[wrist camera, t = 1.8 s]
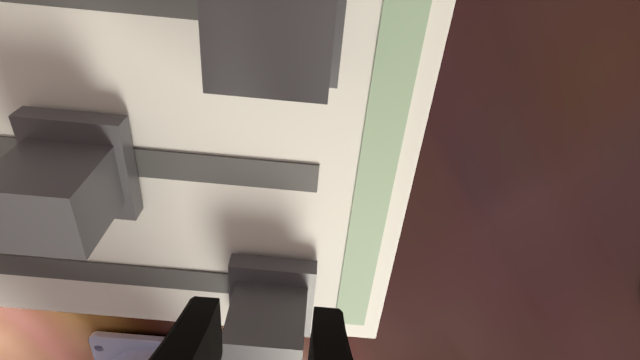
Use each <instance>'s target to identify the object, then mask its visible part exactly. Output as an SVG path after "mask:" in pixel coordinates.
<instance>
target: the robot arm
mask: <svg viewBox="0 0 640 360" xmlns="http://www.w3.org/2000/svg"><path fill="white" fill-rule="evenodd" d="M88 342H89V345H90V348H91V351H92V354H93V357H94V360H221V358H222V353H223V345H222V329H221V312H220V298H211V297H199V296H194V297H192V298H191V299H190V300H189V302H188V303H187V305H186V306H185V308H184V310H183V311H182V313H181V314H180V316H179V317H178V319H177V320H176V322H175V323H174V325H173V326H172V328H171V329H170V331H169V332H168V334H167V335H166V336H165V337H162V336H150V335H138V334H126V333H114V332H103V331H95V332H92V334H91V335H90V337H89V339H88ZM308 360H353V358H352V354H351V350H350V346H349V342H348V338H347V333H346V328H345V323H344V316H343V312H342V311H341V310H340V309H339V308H328V307H316V306H314V310H313V319H312V328H311V337H310V346H309V355H308Z"/></svg>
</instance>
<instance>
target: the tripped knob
mask: <svg viewBox="0 0 640 360" xmlns="http://www.w3.org/2000/svg"><path fill="white" fill-rule="evenodd" d="M8 117H9V120H10V123H11V126H12V129H13V132H14V135H15V138H16V141H17V145H16V146H14V147H13V148H12V149H11V150H10V151H8V152H7V153H6V154H5V155H4V156H2V157H1V158H0V253H4V254H16V255H27V256H39V257H51V258H62V259H74V260H85V261H87V259H88V258H89V256H90V255H91V253H92V252H93V250H94V249H95V247H96V246H97V244H98V243H99V241H100V240H101V238H102V237H103V235H104V234H105V232H106V231H107V229H108V228H109V226H110V225H111V223H112V222H113V220H114V219H121V220H133V221H136V220H137V218H138V217H139V215H140V213H141V212H142V210H143V208H144V207H143V201H142V195H141V189H140V183H139V178H138V172H137V166H136V160H135V154H134V148H133V142H132V136H131V130H130V124H129V118H128V115H118V114H107V113H96V112H85V111H74V110H63V109H52V108H41V107H30V106H21V107H20V108H19V109H17V110H16V111H14V112H13V113H12V114H10V115H9V116H8Z"/></svg>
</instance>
